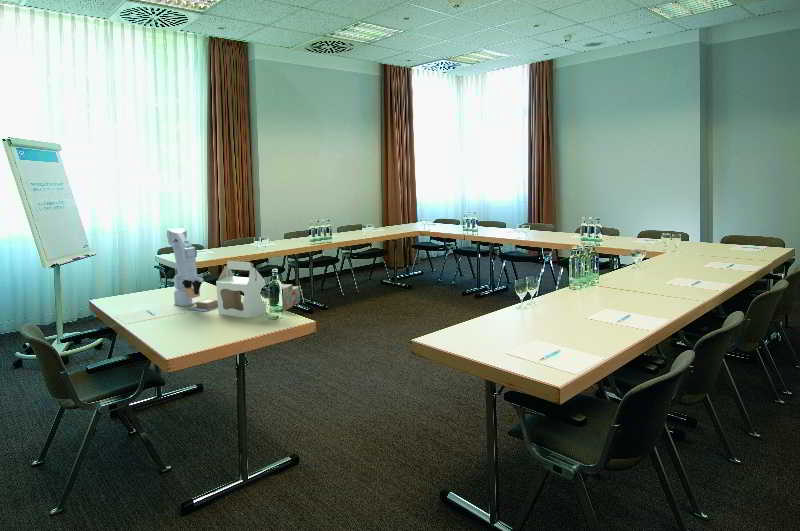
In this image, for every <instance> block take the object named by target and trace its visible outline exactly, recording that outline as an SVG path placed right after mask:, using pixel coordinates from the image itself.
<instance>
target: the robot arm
mask: <svg viewBox="0 0 800 531" xmlns="http://www.w3.org/2000/svg"><path fill="white" fill-rule="evenodd" d="M187 236H188V233H187V229H186V227H183V228H167V230H166V237H167V243H168V245H170V246H171V247H172V250H173V255H174V260H175V264H176V265H175V266H176V270H177V274H175V275H174V276H173V285H174V289H175V291H174V292H173V296H174V303H173V305H174V306H181V307H188V306H191V305H194V304H195V305H196V302H197V301H196V302H195V301H193V298H187V297H186V290H185V288H189V287H194V293H195V295H197V294H199V290H200V288H201V286H202V284H203V282H204V278H203V277H200V276H198V269H197V260H196V259H197V255H198V254H197V253H198V251H197V248H196V246H192V244H191V242H190V241H189V240H187Z"/></svg>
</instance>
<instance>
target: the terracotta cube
mask: <svg viewBox="0 0 800 531" xmlns="http://www.w3.org/2000/svg"><path fill="white" fill-rule="evenodd" d="M185 290H186V297H187V298H192V299H196V298H198V297H201V292H200V291H201V290H200V289H199V294H197V295H195V293H194V287H189V288H185Z"/></svg>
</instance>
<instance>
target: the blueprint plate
mask: <svg viewBox="0 0 800 531" xmlns="http://www.w3.org/2000/svg"><path fill="white" fill-rule="evenodd" d="M214 309H218V299H210V298H209V299H208V298H207V299H203V300H199V301H196V303H195V306H193V307H190V308H188V311H193V312H202V313H203V312H204V313H205V312H209V311H212V310H214Z"/></svg>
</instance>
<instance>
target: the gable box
mask: <svg viewBox="0 0 800 531" xmlns="http://www.w3.org/2000/svg"><path fill="white" fill-rule="evenodd" d="M226 264H227V265H224V266H223V269H222V271H221V272H220V274H219V276H218V278H217V279H216V283H215V284H216V293H217V294H216V295H217V296H216V297H217V298H216V299H217V300H218V308H217V309H218V315H220V316H229V317H239V318H246V319H251V318H255V317H257V316H260V315H263V314H266V313H265V312H266V305H267V303H266V304H265V303H264V301H262V299H261V296H260V292H261V289H262V288H263V287H264V286H265V287H266V280H265V279H264V278H263V276H262V275H261V274H260V273H259V271H258V270H257V268H255V267H254V263H252V262H251V261H240V260H227V263H226ZM232 270H234V271H236V270H238V271H249V273H248V277H243V276H234V274H233V271H232ZM241 292H242V293H243V294H244V295H243V300H242V295H241Z"/></svg>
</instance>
